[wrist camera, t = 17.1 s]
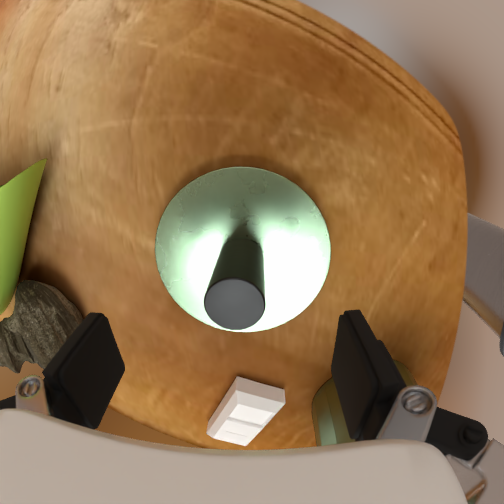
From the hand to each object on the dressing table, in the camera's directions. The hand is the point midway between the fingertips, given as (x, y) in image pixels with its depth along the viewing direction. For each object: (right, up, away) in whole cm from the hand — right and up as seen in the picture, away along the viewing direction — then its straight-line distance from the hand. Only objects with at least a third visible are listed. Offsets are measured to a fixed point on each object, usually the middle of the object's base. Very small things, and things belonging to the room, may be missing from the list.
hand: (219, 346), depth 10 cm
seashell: (-17, -3, +13) cm, 22 cm away
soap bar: (0, -13, +16) cm, 20 cm away
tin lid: (+1, +3, +9) cm, 10 cm away
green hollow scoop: (-24, +6, +10) cm, 26 cm away
